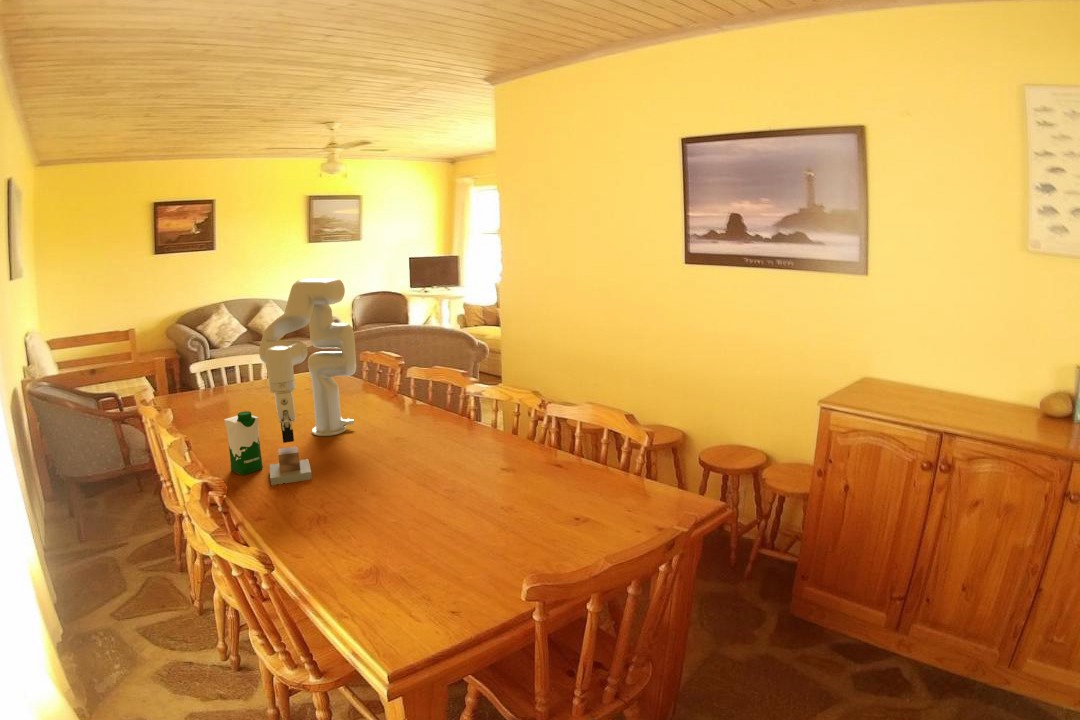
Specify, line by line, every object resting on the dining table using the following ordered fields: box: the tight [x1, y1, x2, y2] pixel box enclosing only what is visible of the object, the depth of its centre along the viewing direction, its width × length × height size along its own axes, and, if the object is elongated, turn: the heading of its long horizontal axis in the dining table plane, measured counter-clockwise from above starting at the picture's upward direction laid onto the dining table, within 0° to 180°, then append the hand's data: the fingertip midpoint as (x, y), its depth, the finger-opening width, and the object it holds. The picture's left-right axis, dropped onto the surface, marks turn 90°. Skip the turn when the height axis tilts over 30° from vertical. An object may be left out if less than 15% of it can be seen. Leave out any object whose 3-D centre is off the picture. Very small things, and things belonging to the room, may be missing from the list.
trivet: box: [269, 458, 313, 486], centre depth 205 cm, size 12×12×2 cm
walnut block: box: [277, 446, 300, 473], centre depth 204 cm, size 6×6×6 cm
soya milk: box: [223, 410, 264, 476], centre depth 208 cm, size 9×9×20 cm
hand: (287, 436), depth 203 cm, fingers open, 9 cm apart
